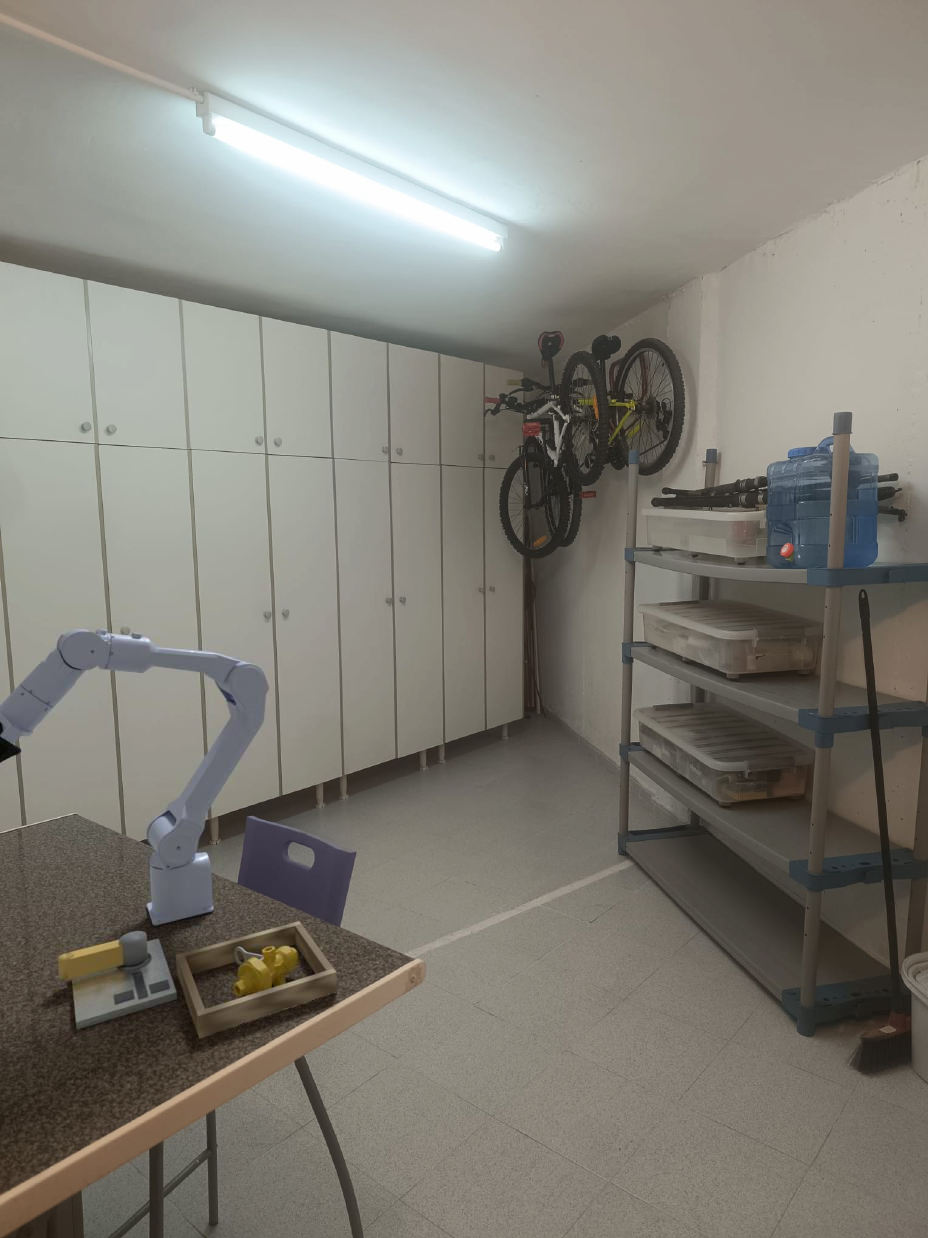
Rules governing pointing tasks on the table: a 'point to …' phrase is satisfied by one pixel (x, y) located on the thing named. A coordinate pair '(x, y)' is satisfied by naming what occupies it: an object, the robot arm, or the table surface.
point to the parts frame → (262, 1001)
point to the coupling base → (123, 989)
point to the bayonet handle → (104, 956)
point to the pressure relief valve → (263, 969)
